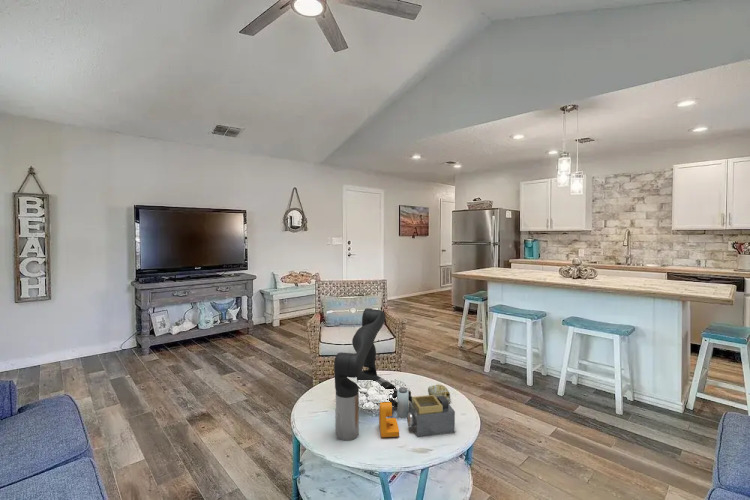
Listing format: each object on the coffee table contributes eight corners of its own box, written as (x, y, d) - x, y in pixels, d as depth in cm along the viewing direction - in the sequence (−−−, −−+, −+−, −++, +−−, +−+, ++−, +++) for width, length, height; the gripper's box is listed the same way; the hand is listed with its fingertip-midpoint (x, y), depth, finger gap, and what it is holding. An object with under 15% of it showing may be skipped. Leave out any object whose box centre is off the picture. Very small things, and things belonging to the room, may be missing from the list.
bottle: (398, 418, 158) (398, 392, 157) (396, 413, 163) (396, 387, 162) (409, 417, 159) (409, 391, 158) (406, 412, 164) (406, 386, 163)
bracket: (399, 438, 143) (399, 409, 142) (381, 439, 143) (381, 409, 142) (395, 423, 154) (395, 396, 153) (379, 424, 153) (379, 397, 153)
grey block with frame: (412, 437, 143) (412, 408, 143) (404, 423, 154) (404, 395, 153) (454, 432, 147) (454, 404, 146) (444, 418, 158) (444, 392, 157)
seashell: (454, 403, 170) (445, 385, 169) (436, 412, 170) (427, 395, 169) (449, 392, 180) (441, 375, 179) (432, 401, 181) (423, 384, 179)
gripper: (371, 384, 169) (391, 398, 155) (396, 378, 176) (417, 390, 163) (371, 400, 169) (391, 415, 155) (396, 392, 177) (417, 406, 163)
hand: (404, 402), depth 159 cm, fingers open, 8 cm apart
